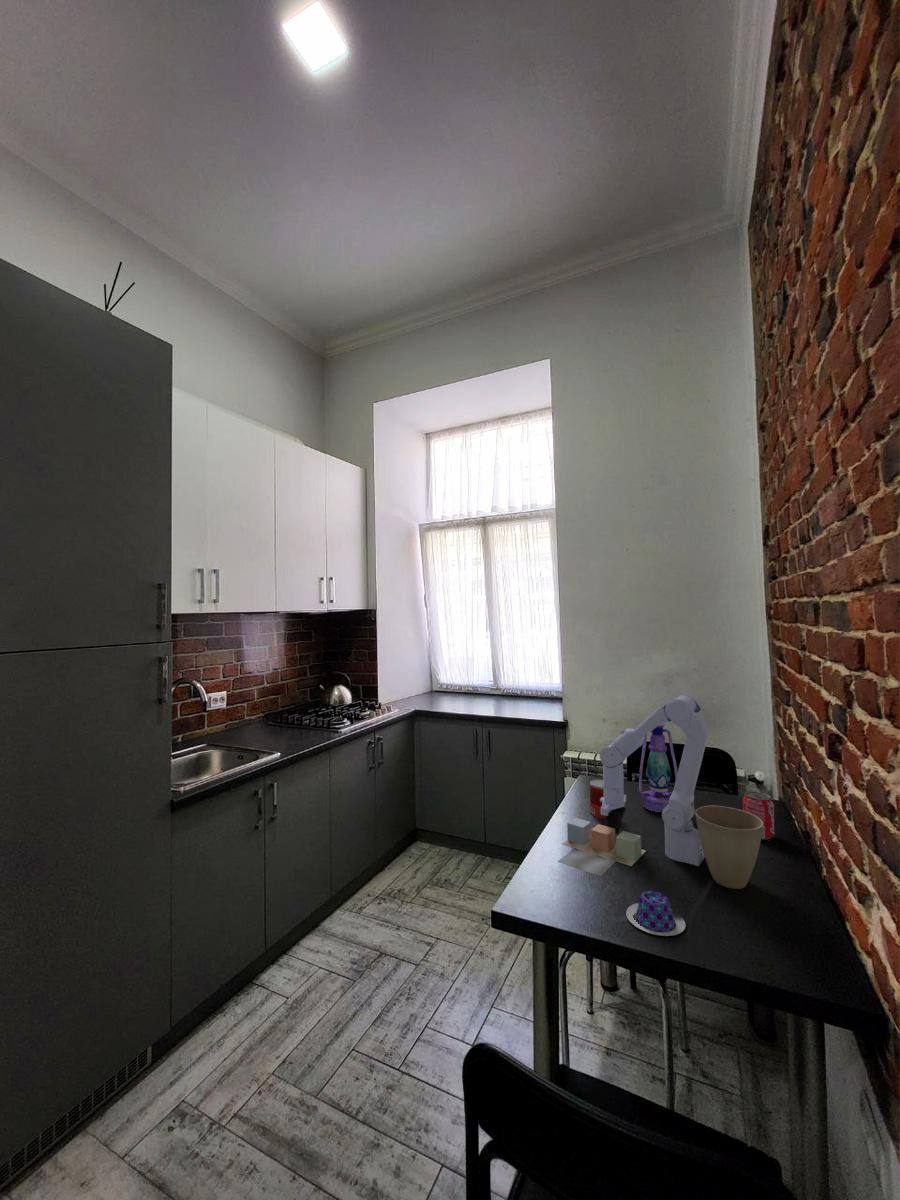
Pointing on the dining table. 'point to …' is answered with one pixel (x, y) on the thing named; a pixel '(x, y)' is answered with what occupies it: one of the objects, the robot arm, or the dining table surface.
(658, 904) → the patterned fedora hat
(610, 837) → the terracotta block
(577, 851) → the board
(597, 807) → the canned food
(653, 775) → the lantern
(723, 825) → the plant pot
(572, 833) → the blue block
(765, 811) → the beverage can
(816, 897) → the dining table surface
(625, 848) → the sage block
